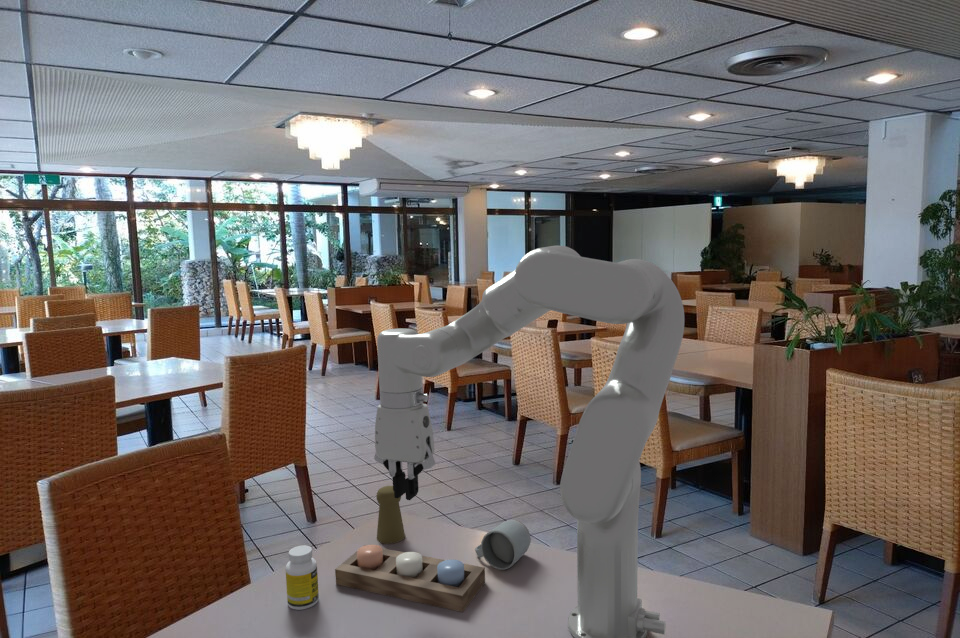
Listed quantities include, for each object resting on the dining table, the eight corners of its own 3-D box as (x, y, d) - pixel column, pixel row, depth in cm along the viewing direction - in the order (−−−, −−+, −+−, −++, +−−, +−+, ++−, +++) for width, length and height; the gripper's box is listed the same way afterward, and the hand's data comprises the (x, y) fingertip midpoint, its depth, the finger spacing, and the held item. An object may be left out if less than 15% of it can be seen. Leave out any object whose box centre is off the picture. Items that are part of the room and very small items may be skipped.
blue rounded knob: (468, 577, 121) (468, 562, 120) (457, 591, 116) (457, 575, 116) (445, 572, 122) (444, 557, 122) (433, 586, 118) (432, 570, 118)
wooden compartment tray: (485, 582, 122) (484, 567, 122) (462, 612, 113) (462, 595, 113) (365, 558, 133) (364, 544, 132) (336, 584, 123) (335, 569, 123)
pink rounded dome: (387, 561, 127) (387, 546, 127) (374, 573, 123) (373, 558, 122) (366, 557, 129) (365, 542, 129) (352, 569, 125) (351, 554, 124)
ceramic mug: (533, 554, 132) (532, 518, 131) (516, 574, 125) (514, 535, 124) (487, 544, 137) (485, 509, 136) (467, 562, 130) (465, 525, 129)
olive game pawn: (399, 544, 138) (397, 494, 137) (372, 542, 139) (369, 493, 138) (408, 531, 144) (406, 483, 142) (382, 529, 145) (379, 481, 144)
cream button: (427, 569, 124) (426, 554, 123) (415, 582, 120) (414, 566, 119) (404, 564, 126) (404, 550, 125) (391, 577, 121) (391, 562, 121)
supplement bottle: (318, 608, 116) (314, 556, 114) (286, 612, 115) (282, 559, 113) (320, 592, 121) (316, 541, 120) (289, 595, 120) (285, 544, 119)
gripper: (450, 396, 118) (453, 494, 121) (374, 390, 124) (379, 483, 127) (431, 407, 111) (435, 510, 114) (352, 400, 118) (357, 498, 120)
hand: (406, 495), depth 120 cm, fingers closed
